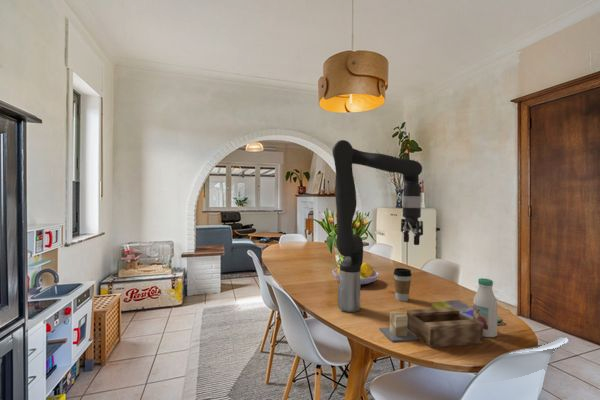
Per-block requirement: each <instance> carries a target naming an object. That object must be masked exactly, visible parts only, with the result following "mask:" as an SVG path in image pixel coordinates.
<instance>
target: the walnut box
mask: <svg viewBox="0 0 600 400" xmlns="http://www.w3.org/2000/svg"><path fill="white" fill-rule="evenodd" d="M406 315H407V316H408V321H407V329H408V330H409V331H410V332H411V333H412V334H414V335H415V336H416V337H417V338H418V340H421V342H423V343H424V344H425V345H427V347H429V348H430V349H431V348H442V347H443V348H444V347H454V346H466V345H478V344H483V343H484V341H483V340H484V336H483V323H482V322H480V321H478V320H476V319H469V318H467V317H466V316H464V315H462V314H460V311H459V310H458V309H456V308H454V307H451V308H421V309H420V308H419V309H418V308H417V309H416V308H415V309H407V310H406Z"/></svg>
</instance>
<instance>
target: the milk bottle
mask: <svg viewBox="0 0 600 400" xmlns="http://www.w3.org/2000/svg"><path fill="white" fill-rule="evenodd" d="M477 281H478V289H477V291H476V293H475V295H474V297H473V303H472V304H473V305H472V306H473V319H476V320H478V321H480V322H482V323H483V338H484V337H486V338H495V337H496V336H497V335H498V326H497V317H498V300H497V298H496V295H495V294H494V292H493V287H494V286H493V284H494V281H493V280H492V279H490V278H483V277H481V278H478V280H477Z"/></svg>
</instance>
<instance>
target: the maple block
mask: <svg viewBox="0 0 600 400" xmlns="http://www.w3.org/2000/svg"><path fill="white" fill-rule="evenodd" d="M407 321H408V316H407V314H405V313H404V312H403V311H401V310H400V311H390V312H389V327H390V332H391V333H393V334H394V335H395V336H407Z"/></svg>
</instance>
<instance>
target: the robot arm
mask: <svg viewBox="0 0 600 400" xmlns="http://www.w3.org/2000/svg"><path fill="white" fill-rule="evenodd" d="M331 152H332V156H333V157H332V158H333V161H334V167H335V180H334V181H335V182H334V183H335V185H334V186H335V187H334V189H335V190H334V195H335V206H336V224H337V225H336V227H337V228H336V248H337V251H338V252H339V253H338V254H340V255H341V256H343V257H344V258H343V260H342V261H341V262H340V263H339V267H340V280H339V285H338V286H337V308H338V309H339V310H340V311H342V312H348V313H355V312H358V311H360V310H361V285H360V275H361V265H362V263H364V261H363V260H364V242H363V239H362V237H361V236H360V235H358V234H356V233H353V220H354V216H355V213H356V210H357V192H356V191H357V190H356V184H355V178H354V174H353V165H360V166H365V167H368V168H372V169H376V170H381V171H383V172H389V173H397V174H401V175H402V180H403V181H402V182H403V194H402V195H403V196H402V197H403V199H402V217H403V218H401V219H400V232H401V233H402V234H403V242H404V243H409V242H410V231H411V233H413V245H414V246H419V245H420V237H421V236H423V235H424V223H423V222H424V221H423V220H419V219H420V218H421V216H422V215H421V214H422V202H421V201H422V199H421V185H420V183H419V180H420V179H419V175H421V173H423V172H422V171H423V166H422V164H421V163H420V162H419V161H417V160H413V159H410V158H409V159H408V158H401V157H396V156H393V155H389V154H384V153H377V152H367V151H362V150H359V149H356V148H353V146H352V144H351V142H349V141H348V140H345V139H342V140H338V141H336V142H335V143H334V144H333V147H332V151H331Z"/></svg>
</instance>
